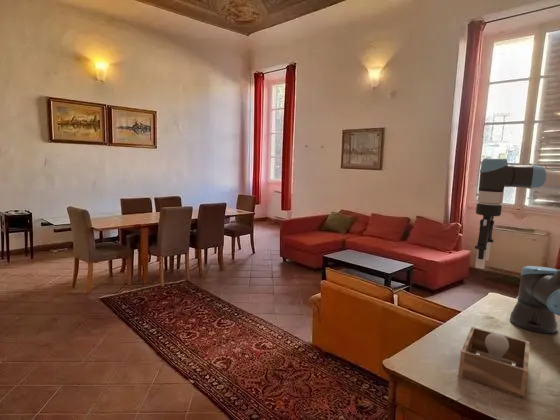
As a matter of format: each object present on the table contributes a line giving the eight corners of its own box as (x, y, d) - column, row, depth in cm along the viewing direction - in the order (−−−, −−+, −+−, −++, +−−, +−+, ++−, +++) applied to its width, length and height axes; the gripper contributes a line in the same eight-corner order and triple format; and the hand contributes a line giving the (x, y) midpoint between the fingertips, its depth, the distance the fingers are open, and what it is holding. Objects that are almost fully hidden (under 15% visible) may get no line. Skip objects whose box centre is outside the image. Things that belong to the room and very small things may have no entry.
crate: (469, 348, 122) (471, 326, 121) (526, 365, 113) (529, 341, 112) (458, 376, 106) (461, 351, 105) (524, 398, 97) (527, 371, 96)
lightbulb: (477, 364, 111) (481, 330, 110) (492, 361, 113) (496, 327, 112) (495, 375, 106) (500, 340, 104) (510, 372, 108) (515, 337, 106)
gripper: (481, 199, 137) (475, 254, 140) (471, 205, 117) (464, 269, 120) (504, 201, 133) (497, 258, 136) (498, 208, 113) (490, 274, 116)
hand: (482, 263), depth 128 cm, fingers open, 13 cm apart
